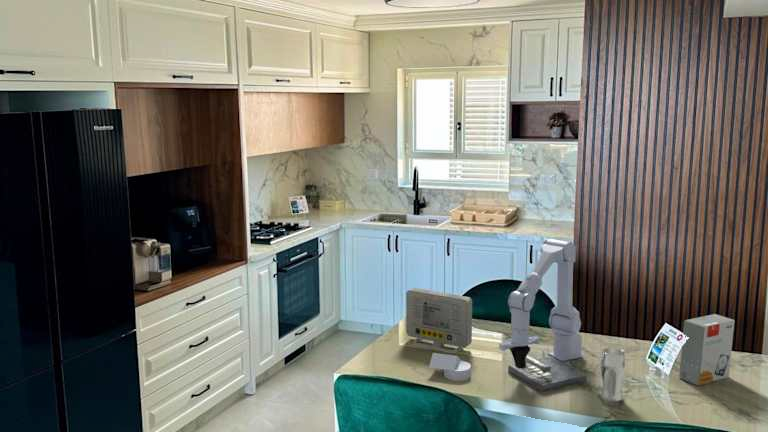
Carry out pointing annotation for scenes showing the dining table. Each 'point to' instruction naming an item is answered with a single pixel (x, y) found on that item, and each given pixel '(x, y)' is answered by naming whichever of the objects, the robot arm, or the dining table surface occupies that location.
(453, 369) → the wedge on round base
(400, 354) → the dining table surface
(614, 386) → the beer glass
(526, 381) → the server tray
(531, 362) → the grey ball-ended handle
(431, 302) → the network device
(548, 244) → the robot arm
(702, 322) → the hard drive box
